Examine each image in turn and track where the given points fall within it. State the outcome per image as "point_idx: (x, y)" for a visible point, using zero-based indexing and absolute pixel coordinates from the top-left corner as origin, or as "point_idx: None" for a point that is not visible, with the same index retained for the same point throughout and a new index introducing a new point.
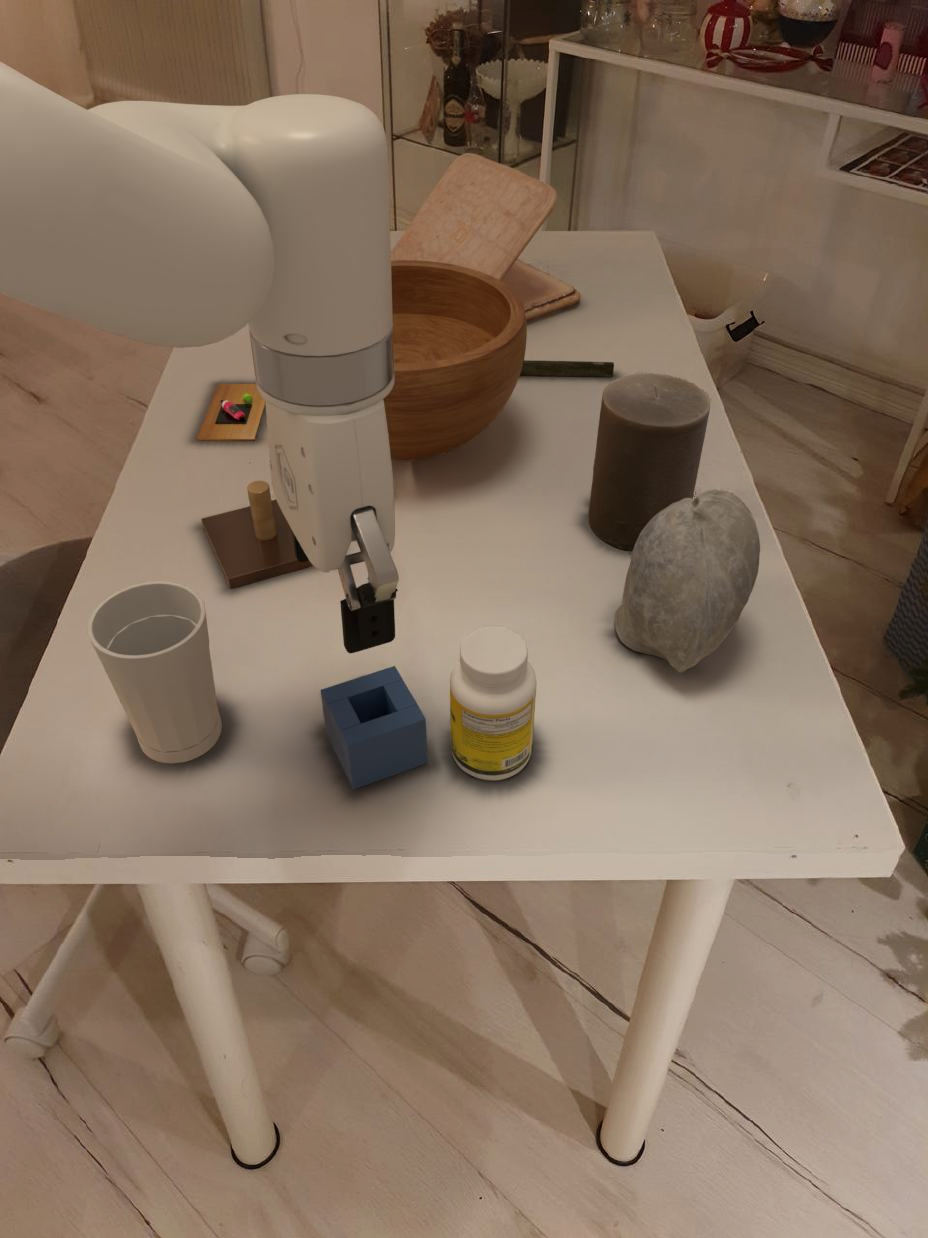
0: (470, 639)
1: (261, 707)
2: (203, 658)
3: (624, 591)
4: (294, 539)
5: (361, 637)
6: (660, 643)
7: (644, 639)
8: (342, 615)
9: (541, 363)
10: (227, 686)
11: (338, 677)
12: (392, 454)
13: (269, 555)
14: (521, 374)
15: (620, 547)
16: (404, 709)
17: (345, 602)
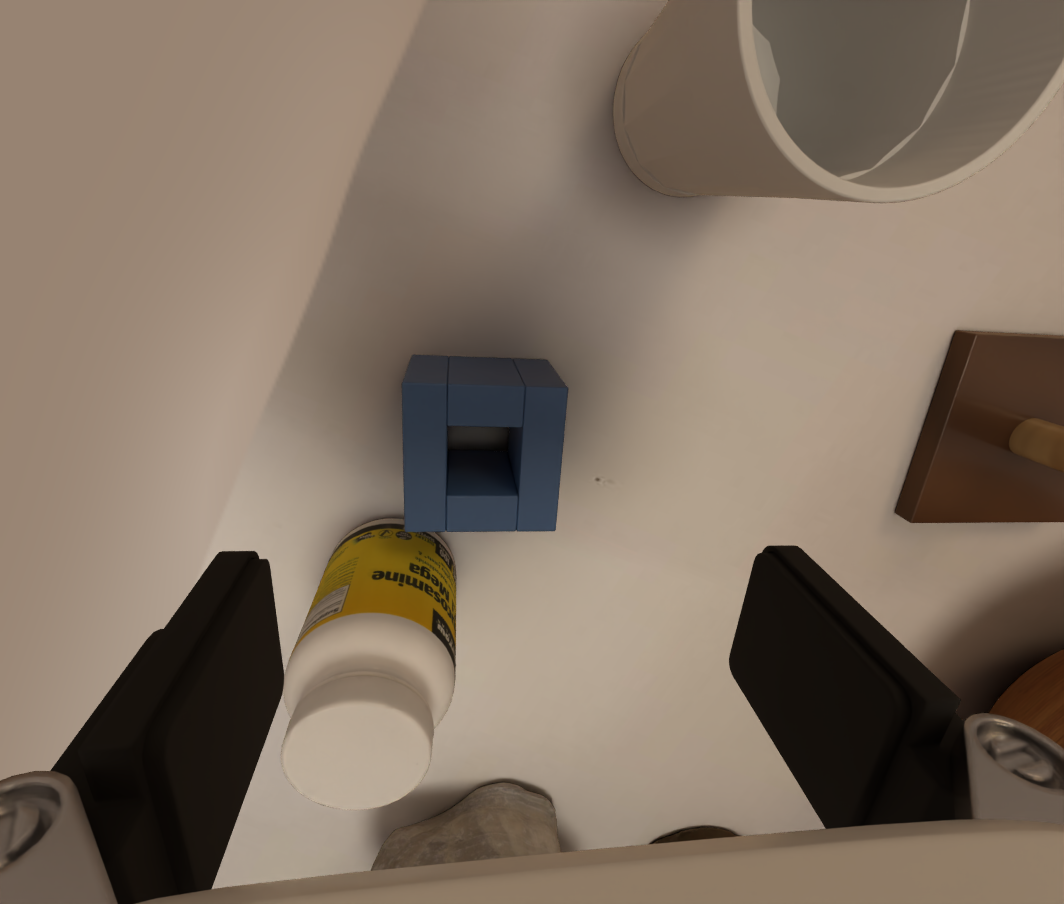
0: (406, 731)
1: (662, 278)
2: (721, 153)
3: None
4: (834, 600)
5: (142, 653)
6: (413, 860)
7: (461, 825)
8: (158, 675)
9: None
10: (743, 238)
11: (652, 423)
12: (1029, 698)
13: (975, 423)
14: None
15: (656, 842)
16: (443, 508)
17: (113, 762)
